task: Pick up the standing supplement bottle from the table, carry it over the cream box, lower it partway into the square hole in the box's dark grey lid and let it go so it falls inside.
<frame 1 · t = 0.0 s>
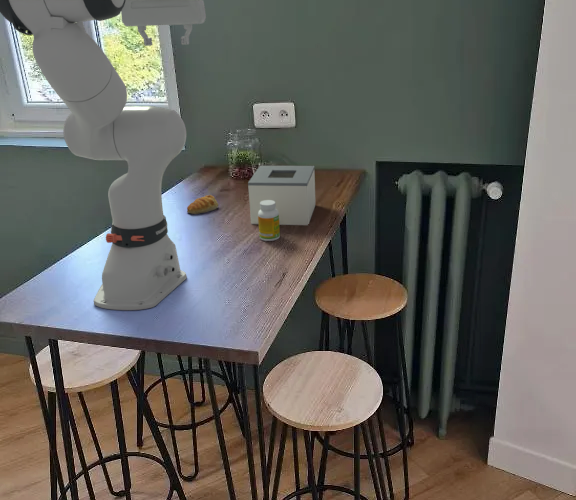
hand: (166, 45, 147), 48 cm above the table, tool pointing down, fingers open, 8 cm apart
pastry: (203, 210, 180), on the table
supplement bottle: (269, 238, 158), on the table
hole box: (284, 214, 173), on the table
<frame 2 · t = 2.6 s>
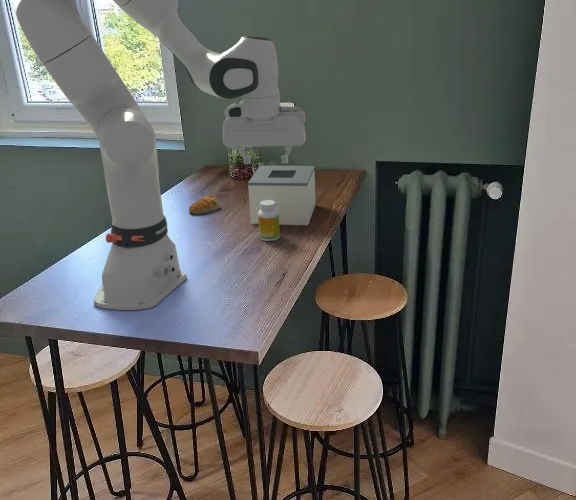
hand: (266, 163, 149), 20 cm above the table, tool pointing down, fingers open, 8 cm apart
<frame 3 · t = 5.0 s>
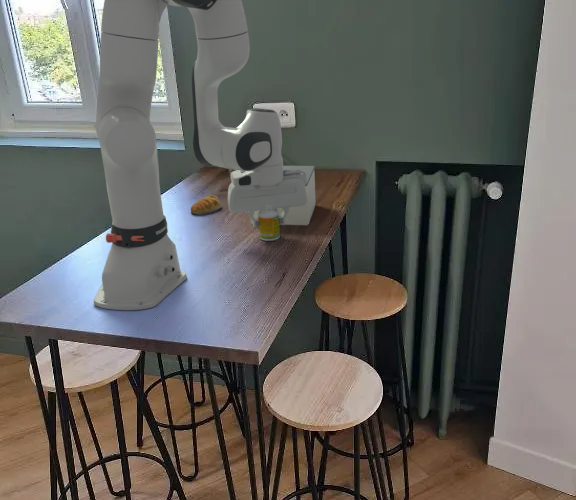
hand: (269, 224, 156), 4 cm above the table, tool pointing down, fingers closed on supplement bottle, 5 cm apart
supplement bottle: (269, 238, 158), on the table, touching gripper
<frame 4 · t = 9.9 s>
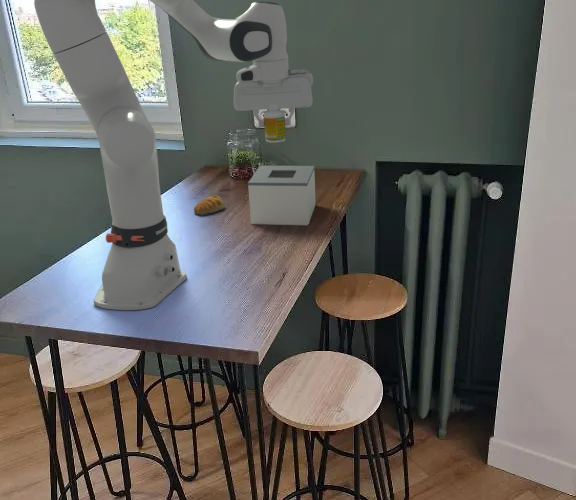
hand: (274, 125, 156), 27 cm above the table, tool pointing down, fingers closed on supplement bottle, 5 cm apart
supplement bottle: (275, 141, 158), point 23 cm above the table, touching gripper
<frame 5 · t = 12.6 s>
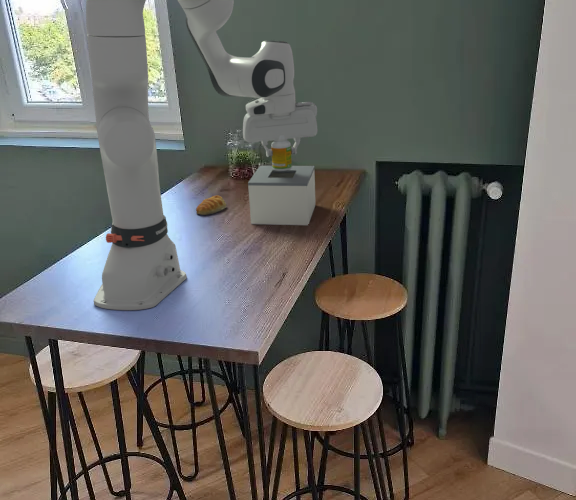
hand: (281, 155, 165), 17 cm above the table, tool pointing down, fingers closed on supplement bottle, 5 cm apart
supplement bottle: (282, 169, 167), point 13 cm above the table, touching gripper
when the fingers open (13 cm above the table, at t = 14.9 s): supplement bottle drops 9 cm, resting in hole box.
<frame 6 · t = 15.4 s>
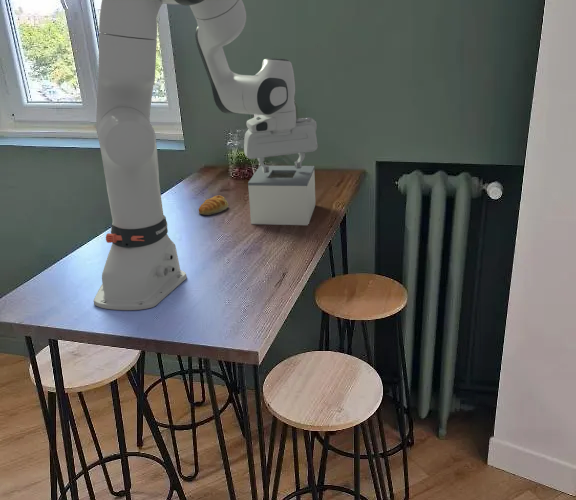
hand: (282, 170, 167), 13 cm above the table, tool pointing down, fingers open, 8 cm apart
supplement bottle: (284, 215, 173), resting in hole box
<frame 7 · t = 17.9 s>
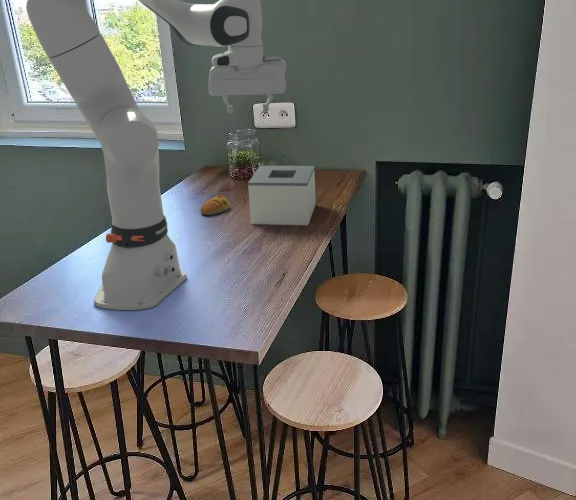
hand: (248, 111, 160), 30 cm above the table, tool pointing down, fingers open, 8 cm apart
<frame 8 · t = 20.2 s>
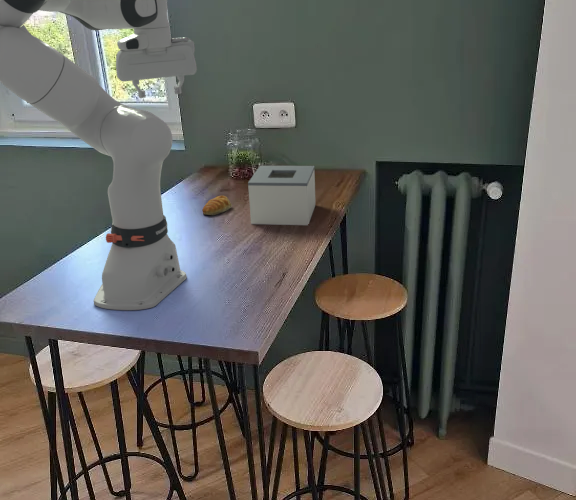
hand: (160, 95, 157), 35 cm above the table, tool pointing down, fingers open, 8 cm apart
at the end: supplement bottle inside the target area on the hole box (0.1 cm from its centre), point 0.0 cm above the hole box's base; the gripper is holding nothing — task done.
